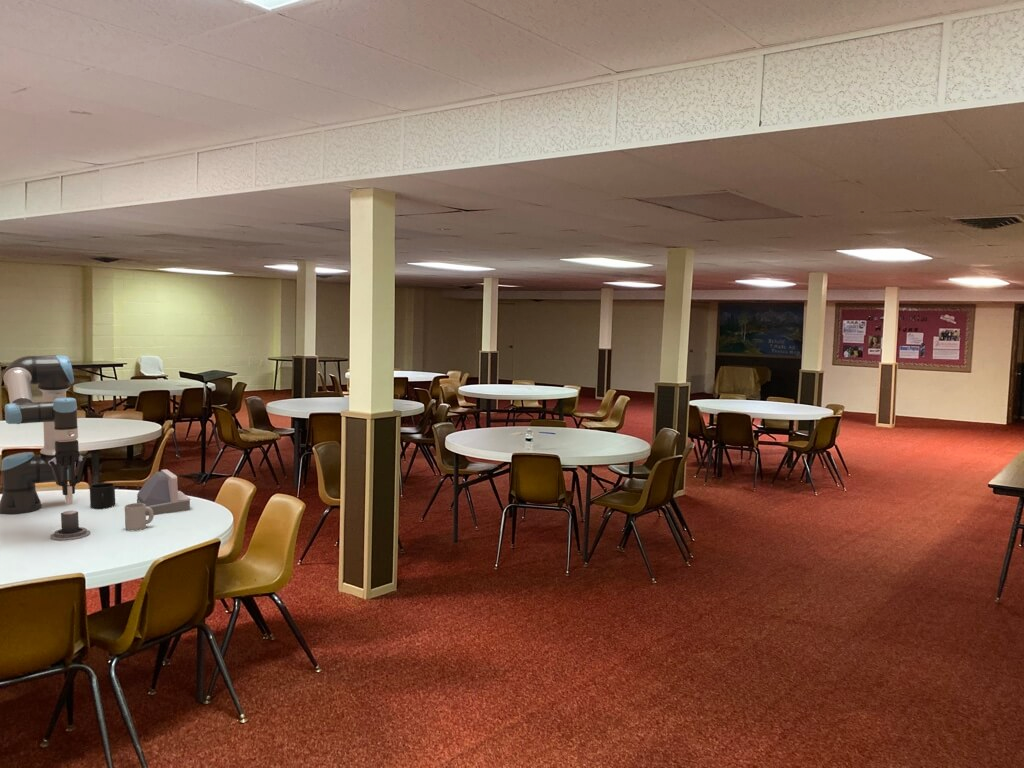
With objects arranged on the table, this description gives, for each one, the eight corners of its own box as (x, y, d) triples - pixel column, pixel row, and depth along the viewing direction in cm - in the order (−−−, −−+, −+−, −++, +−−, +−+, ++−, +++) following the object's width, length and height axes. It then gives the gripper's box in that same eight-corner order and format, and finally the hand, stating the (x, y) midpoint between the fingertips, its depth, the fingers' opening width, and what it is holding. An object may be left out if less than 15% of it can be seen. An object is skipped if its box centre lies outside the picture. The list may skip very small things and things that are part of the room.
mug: (90, 511, 333) (89, 490, 332) (90, 505, 344) (89, 484, 343) (115, 509, 337) (114, 487, 336) (115, 502, 348) (114, 482, 347)
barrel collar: (44, 535, 297) (44, 531, 297) (81, 528, 307) (81, 524, 307) (58, 542, 289) (58, 537, 289) (96, 535, 299) (96, 530, 298)
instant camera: (191, 511, 335) (190, 476, 333) (136, 517, 325) (135, 480, 324) (187, 500, 353) (186, 467, 352) (135, 505, 344) (133, 471, 343)
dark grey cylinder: (59, 534, 298) (58, 512, 297) (75, 531, 302) (74, 509, 301) (65, 537, 294) (64, 514, 293) (81, 533, 298) (80, 512, 298)
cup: (124, 527, 310) (124, 504, 309) (153, 523, 315) (152, 501, 314) (126, 531, 304) (125, 508, 303) (154, 528, 309) (154, 505, 308)
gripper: (51, 443, 287) (54, 508, 289) (89, 439, 297) (91, 501, 299) (43, 441, 292) (46, 504, 294) (81, 437, 302) (83, 498, 304)
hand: (69, 503), depth 297 cm, fingers closed
